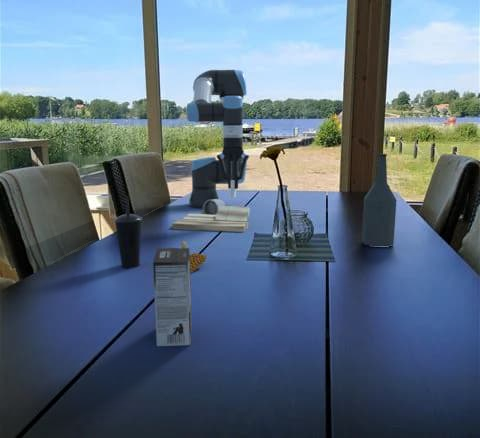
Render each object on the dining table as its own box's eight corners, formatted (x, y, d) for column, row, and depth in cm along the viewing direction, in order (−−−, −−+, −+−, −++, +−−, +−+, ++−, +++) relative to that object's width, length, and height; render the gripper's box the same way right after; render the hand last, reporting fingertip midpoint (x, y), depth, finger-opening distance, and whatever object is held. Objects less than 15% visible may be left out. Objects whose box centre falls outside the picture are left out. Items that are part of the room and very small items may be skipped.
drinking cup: (149, 262, 131) (146, 194, 127) (135, 270, 124) (131, 198, 120) (126, 260, 134) (122, 193, 130) (111, 268, 127) (106, 197, 123)
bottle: (394, 249, 145) (401, 154, 139) (363, 247, 147) (368, 154, 141) (390, 241, 155) (396, 152, 148) (361, 239, 157) (366, 152, 150)
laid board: (180, 223, 183) (179, 218, 182) (248, 226, 177) (248, 221, 177) (172, 228, 174) (172, 223, 173) (243, 231, 168) (243, 226, 168)
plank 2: (220, 209, 187) (219, 205, 186) (249, 210, 185) (249, 206, 183) (215, 223, 181) (215, 219, 179) (246, 224, 178) (245, 220, 177)
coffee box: (159, 325, 91) (156, 247, 87) (192, 324, 91) (190, 246, 88) (155, 347, 82) (151, 261, 78) (191, 345, 82) (188, 260, 79)
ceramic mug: (227, 214, 200) (226, 197, 199) (218, 218, 193) (217, 200, 192) (206, 213, 205) (205, 196, 203) (196, 216, 198) (196, 199, 196)
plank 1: (189, 218, 191) (189, 213, 190) (218, 219, 189) (217, 214, 188) (182, 223, 183) (182, 218, 182) (212, 224, 180) (212, 219, 180)
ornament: (207, 256, 121) (199, 231, 134) (168, 266, 120) (164, 241, 133) (212, 276, 124) (203, 251, 137) (174, 287, 123) (169, 260, 136)
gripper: (214, 137, 174) (215, 197, 178) (247, 137, 171) (247, 198, 176) (219, 136, 181) (219, 195, 186) (251, 136, 178) (251, 196, 183)
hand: (233, 196), depth 181 cm, fingers closed
